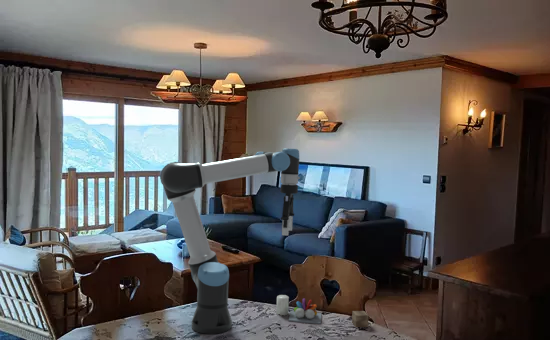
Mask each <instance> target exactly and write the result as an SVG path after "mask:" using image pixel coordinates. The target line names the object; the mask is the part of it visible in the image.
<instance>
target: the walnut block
mask: <svg viewBox="0 0 550 340" xmlns="http://www.w3.org/2000/svg"><path fill="white" fill-rule="evenodd" d="M352 323H353V324H352ZM351 324H352V325H353V326H354V328H355V327H368V328H369V314H367V312H366V311H364V310H352V315H351Z"/></svg>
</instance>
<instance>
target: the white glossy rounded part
mask: <svg viewBox="0 0 550 340" xmlns="http://www.w3.org/2000/svg"><path fill="white" fill-rule="evenodd" d="M289 299H290V297H289V296H288V295H286V294H279V295H277V296H276V315H278V314H280V315H279V316H282V315H284V316H287V315H288V314H289Z"/></svg>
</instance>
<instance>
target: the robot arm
mask: <svg viewBox="0 0 550 340" xmlns="http://www.w3.org/2000/svg"><path fill="white" fill-rule="evenodd" d="M299 167H300V150H299V149H297V148H286V147H285V148H282V151H257V152H256V153H255V154H254V155H251V156H245V157H238V158H233V159H226V160H221V161H214V162H209V163H203V164H202V163H200V162H192V163H187V162H186V163H182V162H179V161H173V162H169V163H167V164H166V165H164V167H163V168H162V169H161V172H160V174H159V175H160V176H159V180H160V183H161V184H162V186H163V189H164V192H165V196H166V199H167V200H168V201H169V202H172V204H173V208H174V211H175V214H176V216H177V217H176V218H177V220H178V222H179V226H180V230H181V232H182V235H183V238H184V241H185V244H186V248H187V250H188V254H189V256H190V257H189V260H188V261H187V262H188V263H187V264H188V266H189V269H190V274H191V278H192V281H193V282H194V283H195V286H196V289H197V294H196V295H197V297H196V308H195V310H194V311H195V312H194V315H193V317H192V319H191V328H192V329H191V330H193V331H194V332H197V333H201V334H205V335H207V334H208V335H215V334H222V333H225V332H228V331H230V329H232V318H231V314H230V311H229V307H228V306H229V304H228V303H229V300H228V299H229V281H230V271H229V268H228V266H227V265H226V264H224V263H221V262H219V260H218V257H217V254H216V252H215V251H214V250H211V247H210V244H209V240H208V237H207V234H206V232H205V231H206V230H205V228H204V225H203V222H202V219H201V216H200V213H199V209H198V206H197V202H196V200H195V196H194V195H195V193H196V191H197V190H196V189H200V188H203V187H204V186H205V185H207V184H212V183H218V182H224V181H229V180H236V179H240V178H245V177H246V178H247V177H250V176H251V177H252V176H256V175H262V174H267V173H272V172H280V173H281V174H280V183H281V184H280V193H281V194H285V195H284V196H283V205H282V206H283V207H282V213H281V214H282V215H281V217H280V220H281V221H282V222H281V224H282V225H281V236H288V237H289V233H290V231H293V219H294V218H293V217H295V213H294V195H296V194H298V192H299V186H298V184H299V180H300V179H301V178H300V176H299V170H300V168H299Z"/></svg>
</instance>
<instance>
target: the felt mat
mask: <svg viewBox="0 0 550 340" xmlns="http://www.w3.org/2000/svg"><path fill="white" fill-rule="evenodd" d="M322 315H323V314H322V312H317V315H315V316H314V318H312V319H308V318H306V316H305V315H304V317H302V318H298V317H297V316H296V315H295V312H294V310H290V313H289V316H288V322H291V321H293V322H294V323H303V324H304V323H305V324H314V325H316V324H317V325H321V324H322Z"/></svg>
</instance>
